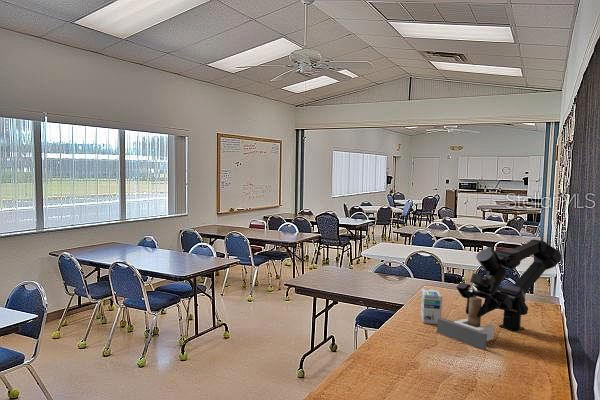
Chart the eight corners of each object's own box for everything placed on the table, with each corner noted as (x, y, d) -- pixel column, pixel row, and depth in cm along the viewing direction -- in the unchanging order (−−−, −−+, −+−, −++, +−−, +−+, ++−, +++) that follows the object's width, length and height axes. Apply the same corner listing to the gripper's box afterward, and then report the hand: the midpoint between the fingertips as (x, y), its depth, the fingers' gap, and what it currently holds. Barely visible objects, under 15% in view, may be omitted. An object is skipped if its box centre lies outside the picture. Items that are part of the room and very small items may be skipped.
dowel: (475, 331, 160) (477, 297, 160) (481, 335, 157) (484, 300, 156) (465, 331, 160) (467, 297, 159) (471, 335, 156) (473, 300, 155)
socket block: (467, 330, 165) (468, 318, 164) (493, 339, 157) (494, 326, 156) (451, 334, 160) (452, 321, 159) (477, 343, 151) (478, 330, 151)
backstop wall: (439, 332, 162) (440, 317, 162) (486, 349, 147) (487, 333, 147) (436, 332, 161) (437, 318, 161) (483, 349, 146) (484, 334, 146)
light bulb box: (441, 325, 170) (443, 296, 169) (422, 323, 171) (424, 294, 171) (437, 316, 181) (439, 289, 180) (419, 315, 182) (421, 288, 181)
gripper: (461, 260, 167) (439, 294, 161) (510, 270, 152) (488, 307, 146) (473, 279, 172) (452, 313, 166) (521, 291, 157) (500, 328, 151)
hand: (472, 315), depth 157 cm, fingers closed on dowel, 4 cm apart
